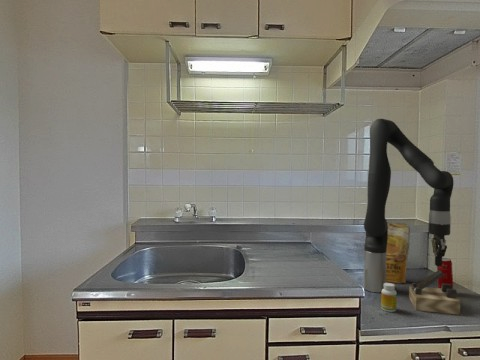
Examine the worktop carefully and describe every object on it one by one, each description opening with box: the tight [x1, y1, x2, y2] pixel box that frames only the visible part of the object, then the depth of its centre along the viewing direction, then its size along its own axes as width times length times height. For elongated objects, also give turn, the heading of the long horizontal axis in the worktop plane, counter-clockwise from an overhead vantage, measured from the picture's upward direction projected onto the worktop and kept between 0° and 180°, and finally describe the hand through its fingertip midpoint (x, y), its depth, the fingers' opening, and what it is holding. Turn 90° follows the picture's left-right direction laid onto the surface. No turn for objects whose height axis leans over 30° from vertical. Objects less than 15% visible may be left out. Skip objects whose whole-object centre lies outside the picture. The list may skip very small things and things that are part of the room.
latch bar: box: [413, 270, 444, 290], centre depth 144 cm, size 13×4×1 cm
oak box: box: [408, 282, 461, 315], centre depth 144 cm, size 15×14×8 cm
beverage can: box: [436, 257, 454, 289], centre depth 158 cm, size 6×6×15 cm
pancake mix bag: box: [386, 221, 411, 285], centre depth 175 cm, size 7×19×28 cm, turn 67°
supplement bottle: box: [380, 282, 398, 313], centre depth 140 cm, size 5×5×10 cm
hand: (438, 265), depth 143 cm, fingers closed
